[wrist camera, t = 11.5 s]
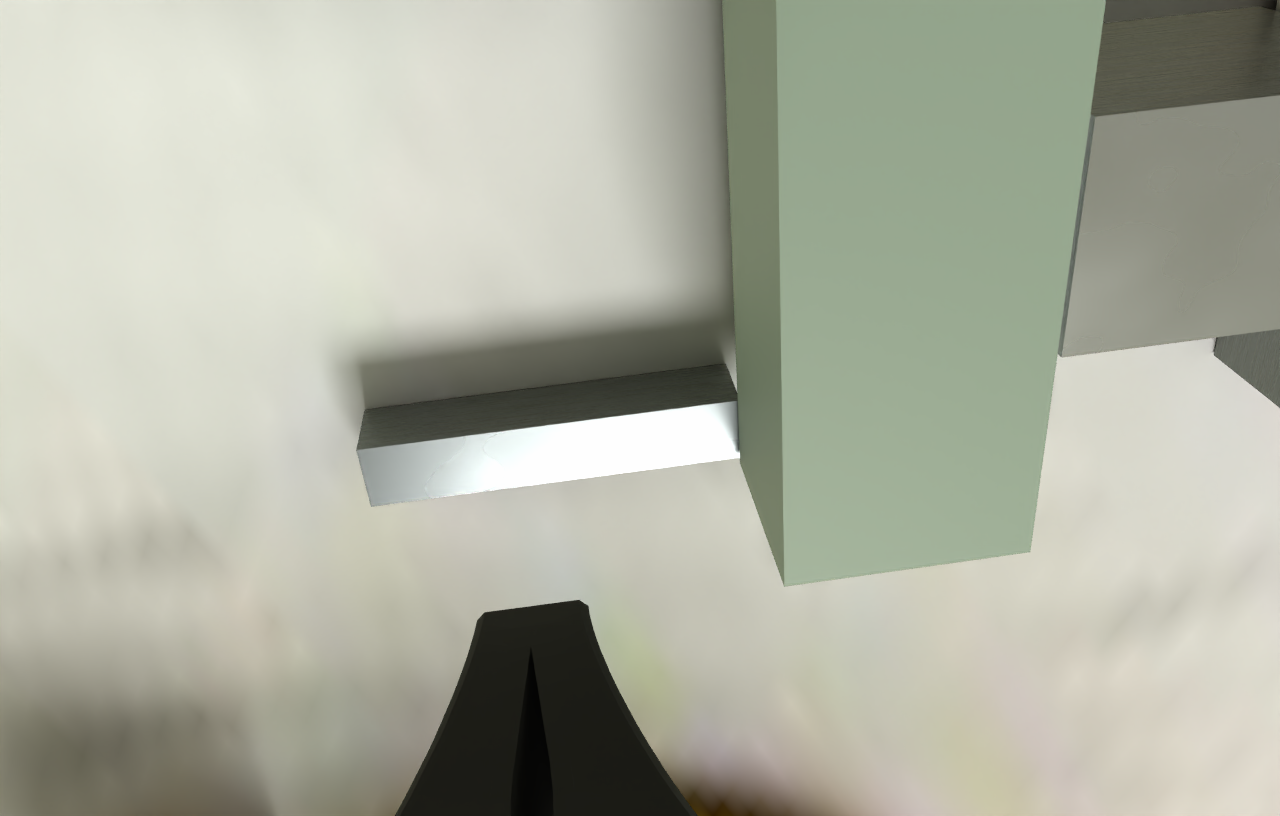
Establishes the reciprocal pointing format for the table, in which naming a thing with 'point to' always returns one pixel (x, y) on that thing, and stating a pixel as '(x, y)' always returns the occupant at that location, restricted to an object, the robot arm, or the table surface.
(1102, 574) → the table surface
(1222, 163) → the steel block
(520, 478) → the vise frame
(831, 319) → the block
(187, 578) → the table surface
